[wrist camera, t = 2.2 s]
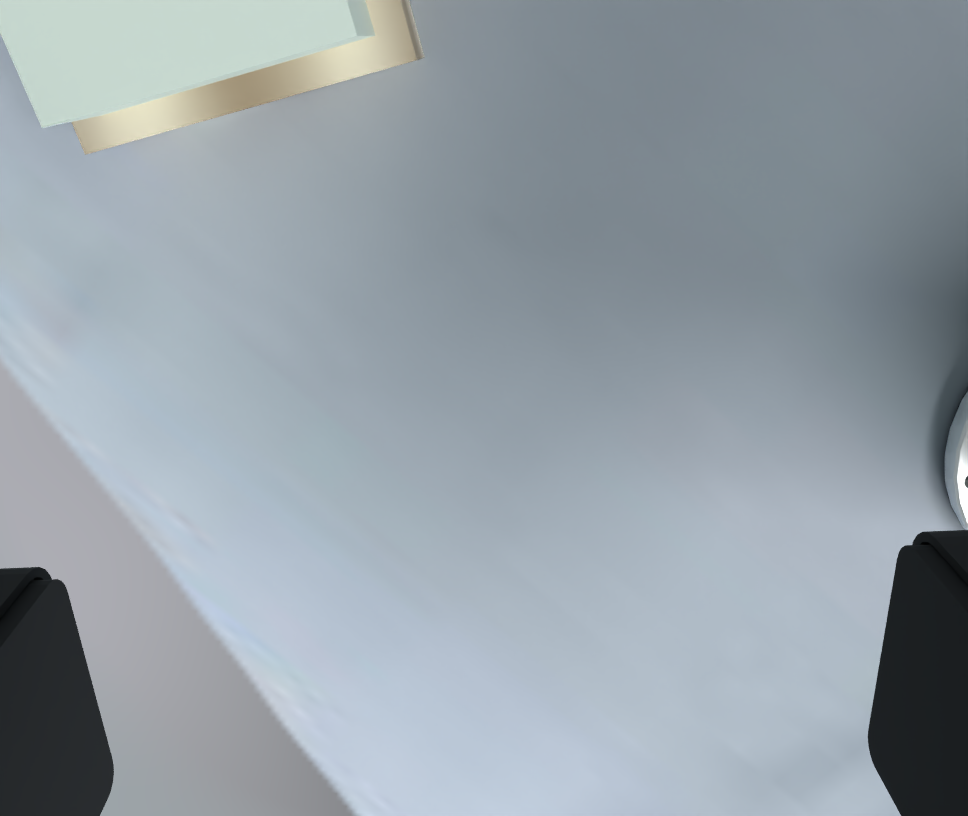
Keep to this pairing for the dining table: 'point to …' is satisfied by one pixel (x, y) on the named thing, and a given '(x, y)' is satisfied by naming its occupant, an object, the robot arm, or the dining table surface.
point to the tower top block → (159, 46)
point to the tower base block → (264, 82)
